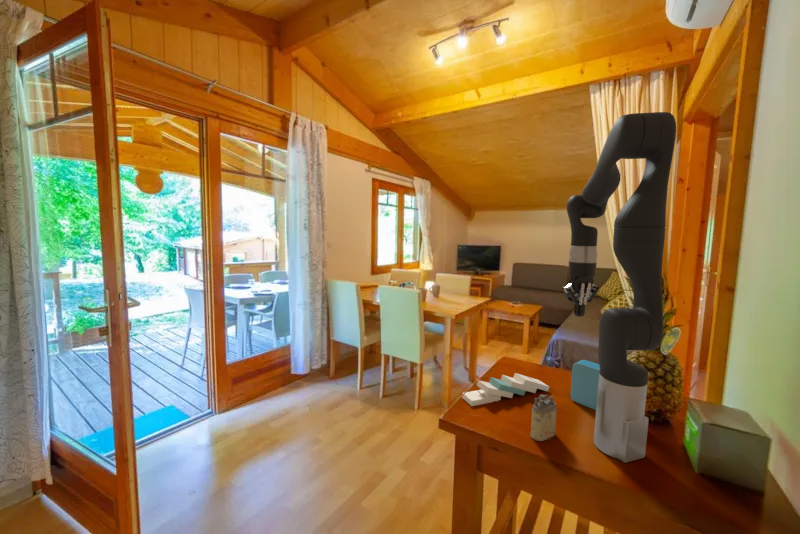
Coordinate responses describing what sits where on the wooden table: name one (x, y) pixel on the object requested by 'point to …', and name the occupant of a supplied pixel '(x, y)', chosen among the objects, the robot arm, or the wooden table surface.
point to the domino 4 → (517, 384)
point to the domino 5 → (531, 382)
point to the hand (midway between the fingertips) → (579, 315)
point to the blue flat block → (585, 383)
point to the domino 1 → (479, 397)
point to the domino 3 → (505, 386)
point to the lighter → (543, 418)
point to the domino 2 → (493, 389)
